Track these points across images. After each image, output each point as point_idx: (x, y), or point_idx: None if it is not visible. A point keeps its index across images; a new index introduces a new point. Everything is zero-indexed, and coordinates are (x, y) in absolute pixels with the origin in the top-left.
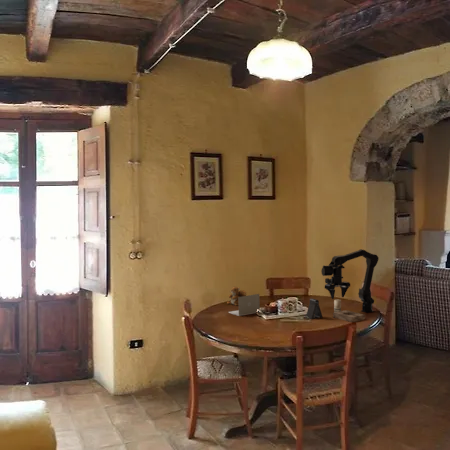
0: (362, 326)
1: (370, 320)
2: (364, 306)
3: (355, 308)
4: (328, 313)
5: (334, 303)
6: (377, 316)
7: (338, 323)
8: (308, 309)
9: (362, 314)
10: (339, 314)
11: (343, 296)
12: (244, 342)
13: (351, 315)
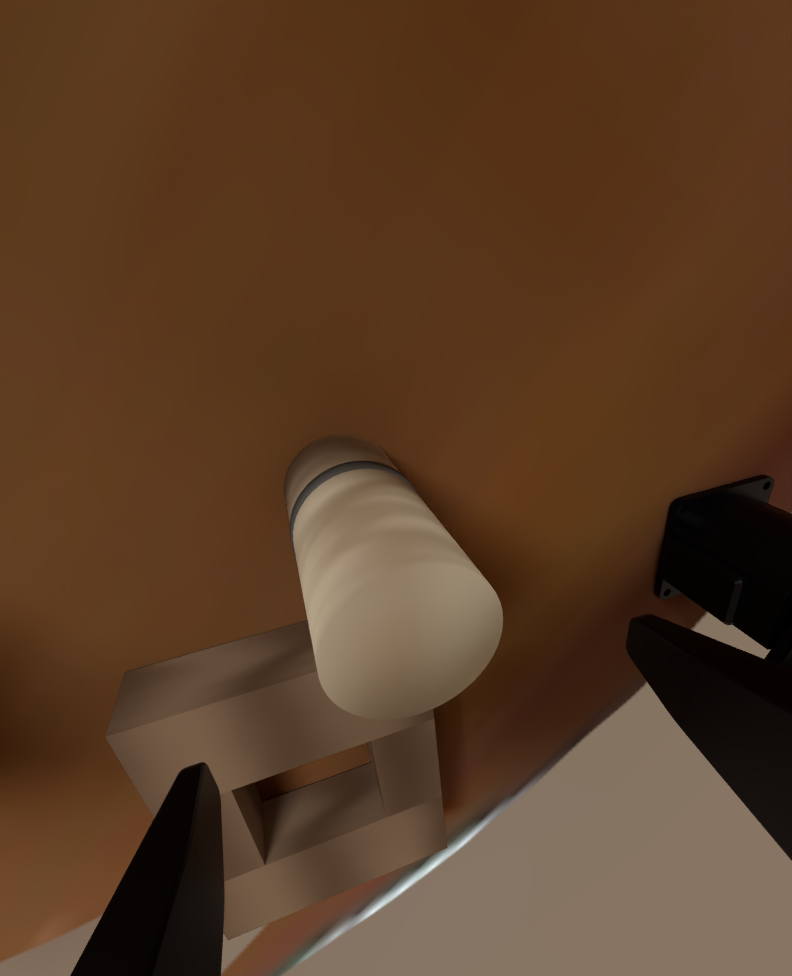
0: (239, 968)
1: None
2: (715, 608)
3: (762, 326)
4: (180, 427)
5: (307, 585)
6: (601, 720)
7: (37, 914)
8: None
9: (435, 837)
10: None
11: (653, 679)
12: None
13: (288, 872)
